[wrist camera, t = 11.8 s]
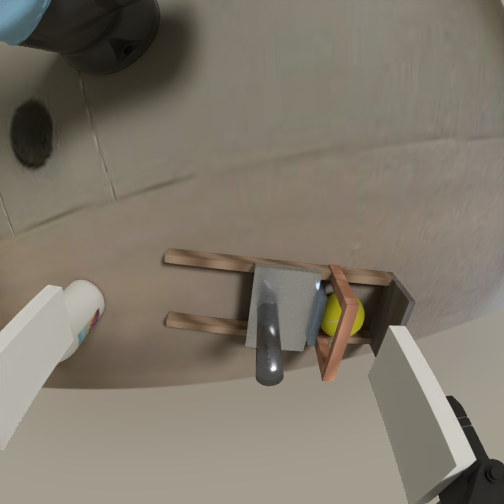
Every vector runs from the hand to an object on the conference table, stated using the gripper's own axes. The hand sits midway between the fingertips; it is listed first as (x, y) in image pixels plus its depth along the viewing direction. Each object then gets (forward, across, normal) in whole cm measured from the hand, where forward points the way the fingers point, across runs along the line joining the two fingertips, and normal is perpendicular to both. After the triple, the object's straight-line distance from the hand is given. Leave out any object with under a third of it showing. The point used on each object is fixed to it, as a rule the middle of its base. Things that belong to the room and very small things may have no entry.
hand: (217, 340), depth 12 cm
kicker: (+33, +7, -17) cm, 37 cm away
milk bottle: (+33, -26, -22) cm, 47 cm away
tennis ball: (+33, +16, -17) cm, 40 cm away
